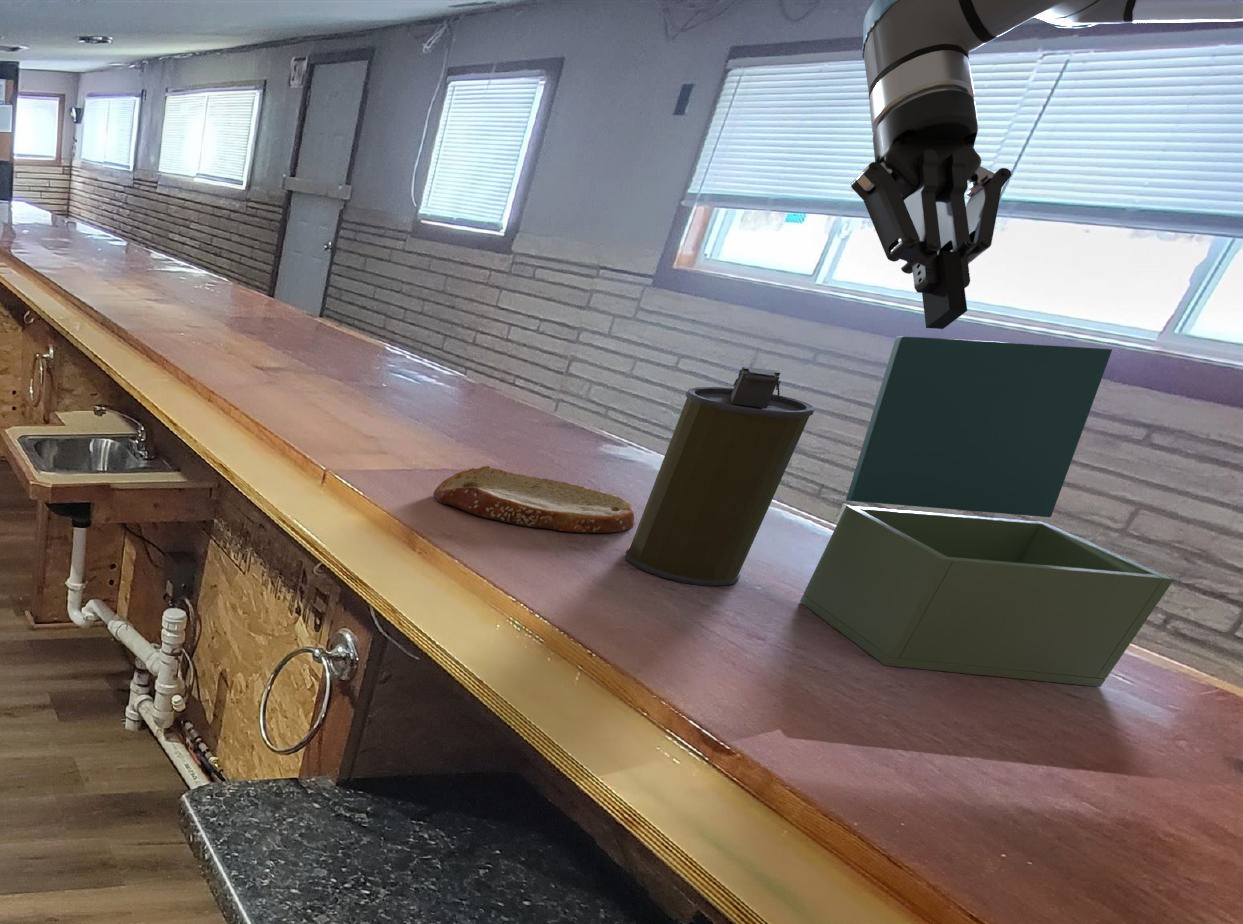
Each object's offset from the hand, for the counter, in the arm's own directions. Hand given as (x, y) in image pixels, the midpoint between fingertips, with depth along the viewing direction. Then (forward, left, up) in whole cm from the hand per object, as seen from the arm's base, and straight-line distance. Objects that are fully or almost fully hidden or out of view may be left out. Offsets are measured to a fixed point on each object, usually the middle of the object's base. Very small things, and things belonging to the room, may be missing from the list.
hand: (946, 319), depth 91 cm
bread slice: (+29, -4, -25) cm, 39 cm away
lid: (-2, +10, -8) cm, 13 cm away
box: (-4, +18, -25) cm, 31 cm away
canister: (+15, +8, -25) cm, 30 cm away
